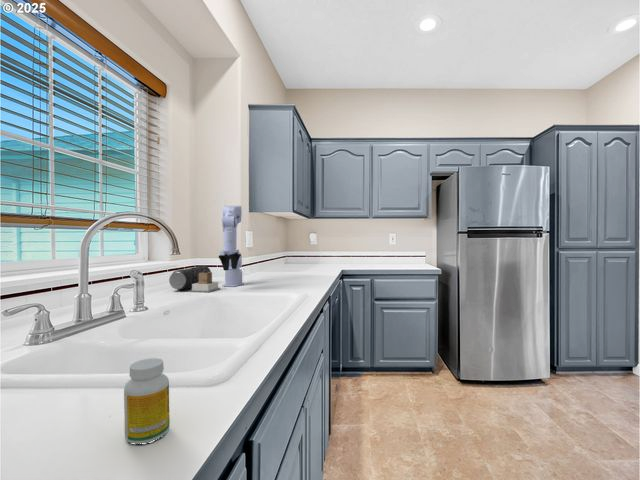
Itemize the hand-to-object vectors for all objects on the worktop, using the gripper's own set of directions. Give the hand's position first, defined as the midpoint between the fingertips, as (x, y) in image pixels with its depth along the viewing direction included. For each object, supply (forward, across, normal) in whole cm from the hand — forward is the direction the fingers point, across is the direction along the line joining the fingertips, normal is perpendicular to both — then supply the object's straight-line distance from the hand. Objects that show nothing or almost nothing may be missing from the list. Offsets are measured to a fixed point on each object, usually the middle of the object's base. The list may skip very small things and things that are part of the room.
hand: (230, 269), depth 163 cm
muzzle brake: (+10, +4, +24) cm, 27 cm away
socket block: (+10, -3, +12) cm, 16 cm away
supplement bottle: (+10, -109, -50) cm, 120 cm away
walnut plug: (+9, -3, +12) cm, 15 cm away
